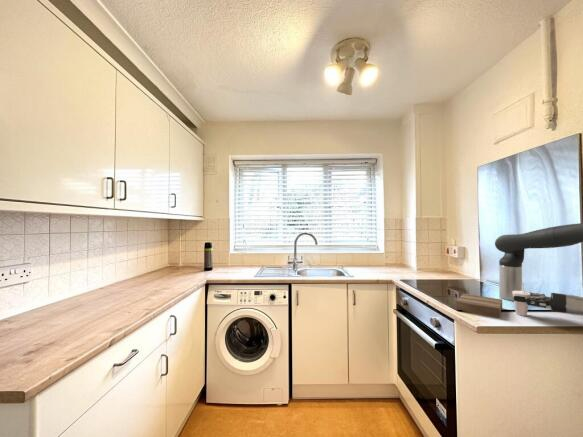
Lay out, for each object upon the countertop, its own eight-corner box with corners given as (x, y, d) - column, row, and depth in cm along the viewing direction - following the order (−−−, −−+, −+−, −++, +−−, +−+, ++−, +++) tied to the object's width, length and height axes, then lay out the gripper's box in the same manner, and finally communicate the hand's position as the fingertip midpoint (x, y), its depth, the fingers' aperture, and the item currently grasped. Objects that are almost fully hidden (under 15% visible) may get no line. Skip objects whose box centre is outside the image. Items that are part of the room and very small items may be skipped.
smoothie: (534, 317, 119) (534, 284, 119) (517, 316, 120) (517, 284, 120) (525, 312, 125) (524, 281, 125) (508, 311, 126) (508, 280, 126)
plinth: (463, 301, 142) (462, 293, 141) (502, 308, 131) (502, 299, 131) (456, 309, 129) (456, 301, 129) (499, 317, 119) (499, 308, 119)
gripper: (565, 290, 119) (514, 284, 130) (568, 299, 108) (513, 291, 119) (565, 308, 119) (514, 300, 130) (568, 318, 108) (513, 309, 119)
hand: (514, 296), depth 124 cm, fingers closed on smoothie, 6 cm apart
